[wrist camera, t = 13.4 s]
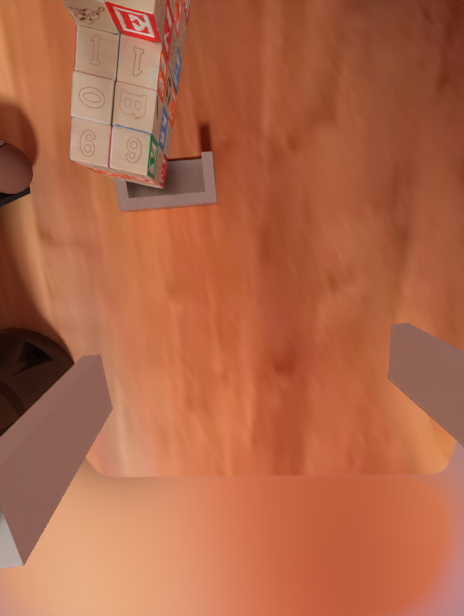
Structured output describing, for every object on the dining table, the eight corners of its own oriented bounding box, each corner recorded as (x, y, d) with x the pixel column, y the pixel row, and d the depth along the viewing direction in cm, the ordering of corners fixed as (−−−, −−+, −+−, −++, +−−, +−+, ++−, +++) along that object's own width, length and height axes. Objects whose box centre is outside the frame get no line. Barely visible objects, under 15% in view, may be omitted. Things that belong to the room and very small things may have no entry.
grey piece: (128, 212, 36) (119, 210, 33) (120, 166, 35) (110, 159, 32) (216, 204, 37) (216, 202, 33) (212, 158, 35) (212, 151, 32)
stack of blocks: (165, 190, 33) (136, 170, 21) (107, 177, 32) (44, 149, 20) (198, -52, 27) (185, -266, 15) (130, -74, 27) (61, -314, 15)
